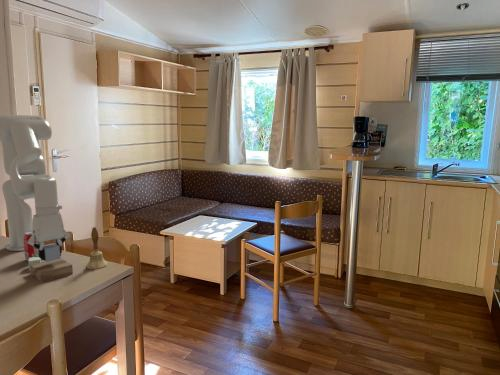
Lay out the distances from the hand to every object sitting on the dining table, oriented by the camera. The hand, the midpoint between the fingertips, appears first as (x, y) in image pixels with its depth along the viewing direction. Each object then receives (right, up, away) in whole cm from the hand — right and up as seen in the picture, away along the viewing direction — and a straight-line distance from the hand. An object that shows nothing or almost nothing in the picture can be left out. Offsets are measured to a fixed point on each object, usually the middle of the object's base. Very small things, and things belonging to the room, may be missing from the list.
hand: (50, 256), depth 145 cm
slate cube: (0, -1, 0) cm, 1 cm away
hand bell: (+13, -6, +10) cm, 18 cm away
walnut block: (0, -7, +1) cm, 7 cm away
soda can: (-14, -4, +15) cm, 21 cm away
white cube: (-9, -6, +6) cm, 13 cm away
